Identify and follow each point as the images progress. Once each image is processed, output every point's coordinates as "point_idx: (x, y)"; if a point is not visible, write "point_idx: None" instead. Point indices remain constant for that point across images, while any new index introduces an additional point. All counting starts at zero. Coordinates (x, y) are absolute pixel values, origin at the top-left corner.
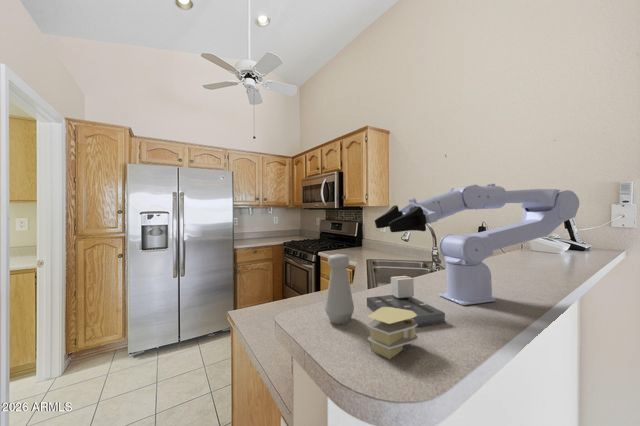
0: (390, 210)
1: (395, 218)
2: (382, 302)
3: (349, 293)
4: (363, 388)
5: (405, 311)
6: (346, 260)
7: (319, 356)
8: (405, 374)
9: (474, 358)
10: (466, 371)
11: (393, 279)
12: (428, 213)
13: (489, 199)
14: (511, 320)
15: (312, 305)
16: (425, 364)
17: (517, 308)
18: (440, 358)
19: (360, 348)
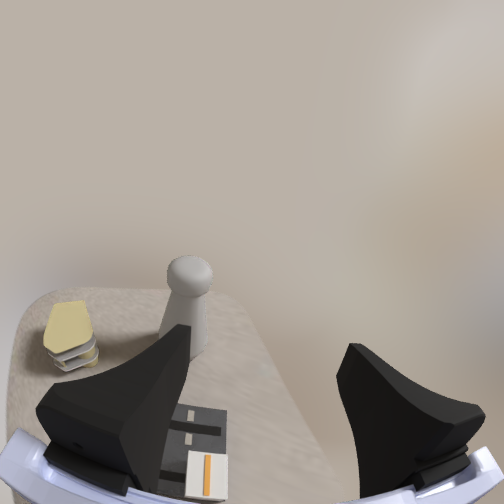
0: (426, 398)
1: (384, 450)
2: (184, 420)
3: (167, 327)
4: (58, 293)
5: (60, 344)
6: (168, 276)
7: (113, 291)
8: (44, 326)
9: (13, 398)
10: (11, 368)
11: (211, 454)
12: (25, 451)
13: None
14: None
15: (260, 340)
16: (39, 351)
17: None
18: (34, 372)
19: (99, 326)
